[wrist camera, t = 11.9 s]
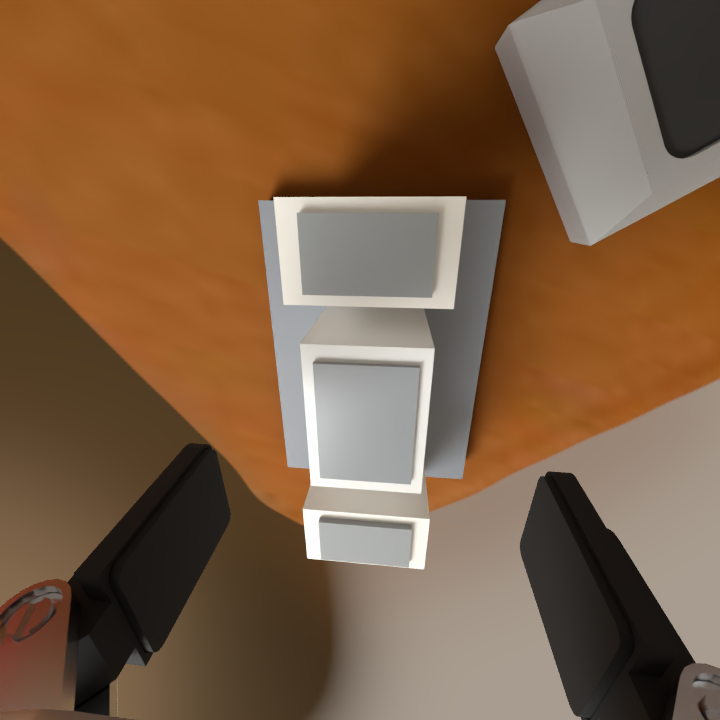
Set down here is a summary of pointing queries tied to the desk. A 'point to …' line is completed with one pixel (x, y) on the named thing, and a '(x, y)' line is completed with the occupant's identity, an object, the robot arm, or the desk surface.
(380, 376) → the module block
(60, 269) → the desk surface
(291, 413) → the board
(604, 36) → the grey bevelled device
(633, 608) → the robot arm
